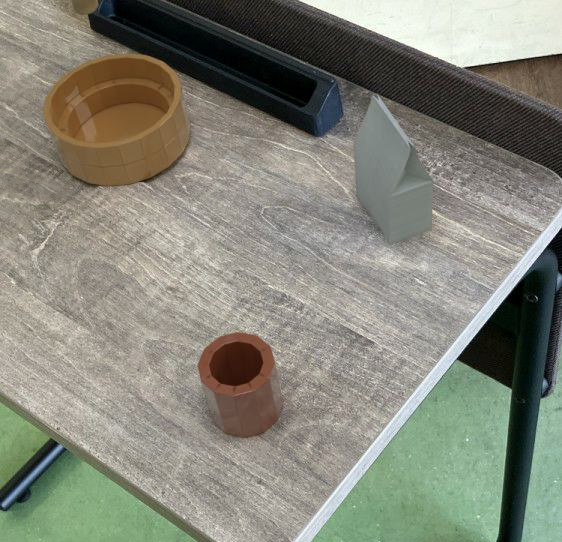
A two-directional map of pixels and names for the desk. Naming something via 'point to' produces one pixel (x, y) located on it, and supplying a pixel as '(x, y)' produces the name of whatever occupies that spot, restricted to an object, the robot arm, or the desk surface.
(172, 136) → the bowl
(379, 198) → the grey pointed block
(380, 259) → the desk surface
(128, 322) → the desk surface
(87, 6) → the stick
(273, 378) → the holder
